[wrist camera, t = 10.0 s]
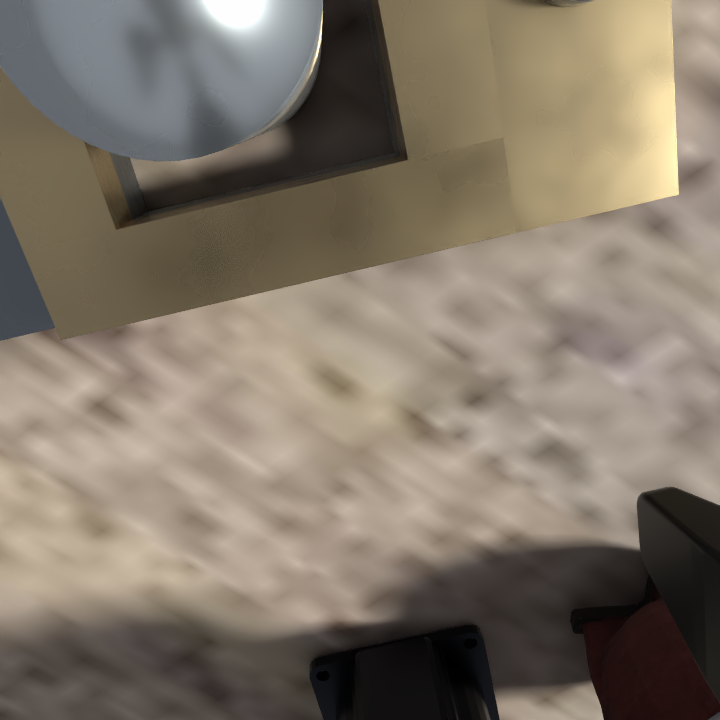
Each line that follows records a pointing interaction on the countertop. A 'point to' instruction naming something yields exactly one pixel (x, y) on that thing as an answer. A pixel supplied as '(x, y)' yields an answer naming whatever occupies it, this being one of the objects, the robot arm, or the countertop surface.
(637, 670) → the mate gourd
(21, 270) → the lower end link
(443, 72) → the upper end link
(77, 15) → the pin
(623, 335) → the countertop surface
